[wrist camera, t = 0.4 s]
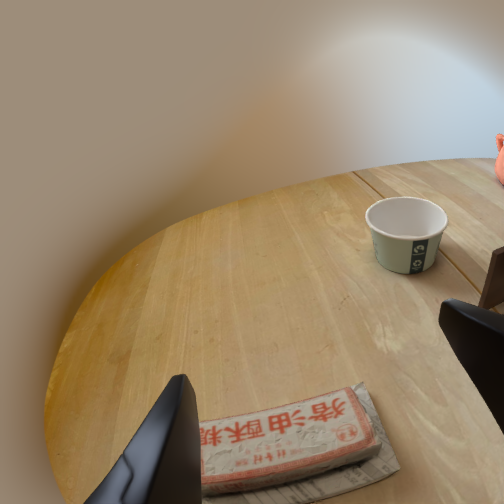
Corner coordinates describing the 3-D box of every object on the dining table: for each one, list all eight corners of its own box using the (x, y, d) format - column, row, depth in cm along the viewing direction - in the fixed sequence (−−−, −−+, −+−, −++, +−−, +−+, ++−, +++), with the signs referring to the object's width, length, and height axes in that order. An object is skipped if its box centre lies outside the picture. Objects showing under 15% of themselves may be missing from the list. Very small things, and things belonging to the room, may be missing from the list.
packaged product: (162, 509, 16) (163, 407, 24) (188, 519, 18) (185, 429, 27) (411, 457, 15) (365, 358, 24) (399, 473, 18) (363, 387, 26)
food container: (361, 237, 48) (359, 200, 44) (429, 229, 45) (431, 193, 41) (373, 285, 38) (373, 243, 34) (455, 274, 35) (462, 233, 31)
